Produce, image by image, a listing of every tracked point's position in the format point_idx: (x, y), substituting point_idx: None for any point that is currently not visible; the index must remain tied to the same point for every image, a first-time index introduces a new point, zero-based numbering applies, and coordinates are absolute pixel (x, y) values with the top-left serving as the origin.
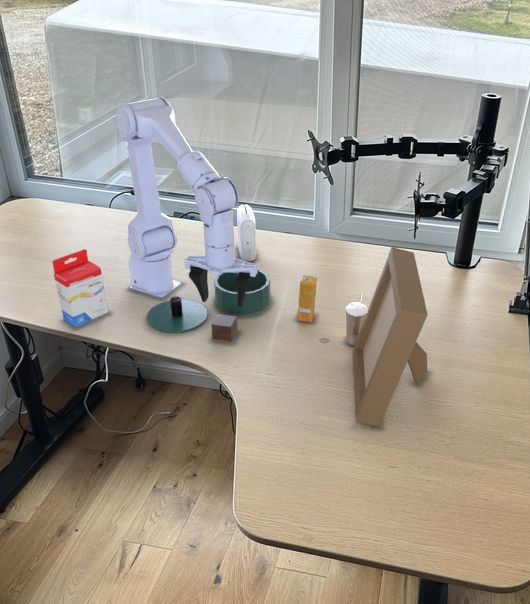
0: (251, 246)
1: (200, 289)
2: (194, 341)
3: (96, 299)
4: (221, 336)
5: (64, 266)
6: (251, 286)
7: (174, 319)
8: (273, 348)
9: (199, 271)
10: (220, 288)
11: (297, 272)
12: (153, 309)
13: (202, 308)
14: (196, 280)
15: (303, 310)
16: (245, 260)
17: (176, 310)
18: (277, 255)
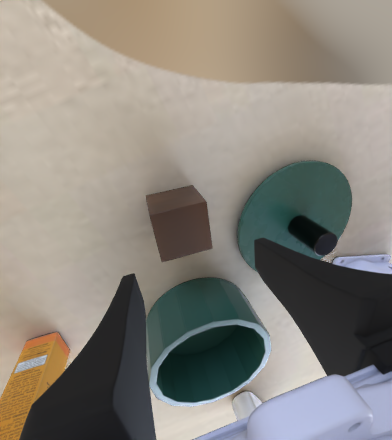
0: None
1: (299, 261)
2: (230, 165)
3: None
4: (173, 195)
5: None
6: (202, 357)
7: (298, 208)
8: (35, 224)
9: (377, 341)
10: (245, 322)
11: (154, 416)
12: (344, 218)
13: None
14: (355, 281)
15: (35, 361)
16: (244, 392)
17: (307, 224)
18: (205, 423)
